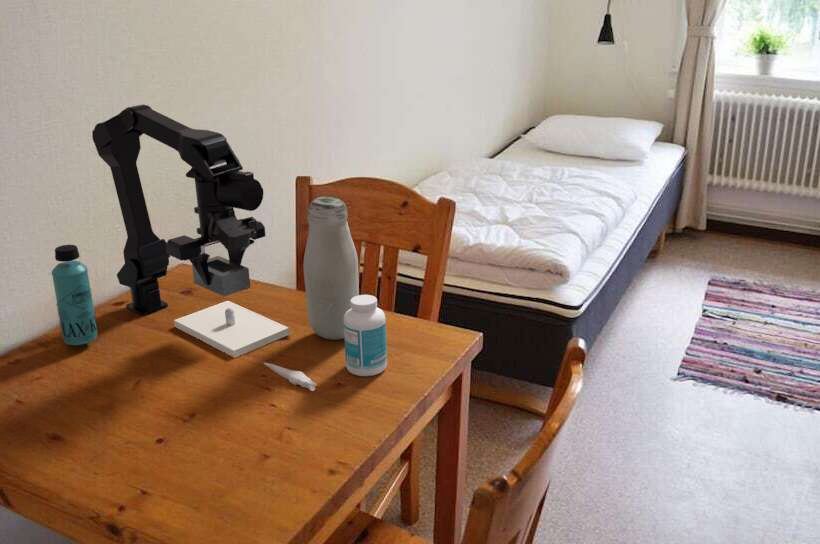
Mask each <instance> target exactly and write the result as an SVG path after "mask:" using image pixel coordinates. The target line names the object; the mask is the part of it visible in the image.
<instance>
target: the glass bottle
mask: <svg viewBox="0 0 820 544" xmlns="http://www.w3.org/2000/svg"><path fill="white" fill-rule="evenodd" d="M306 218H307V222H308V233H307V234H308V235H307V239H306V245H305V249H304V256H303V278H304V287H305V288H304V289H305V297H306V313H307V318H308V323H309V326H310V328H311V330H312V331H313V332H314V333H315V334H316V335H317V336H319V337H322V338H323V339H325V340H332V341H333V340H337V341H338V340H342V339H344V315H345V313H346V312H347V311H348V310H349V309H351V304H350V300H351V299H352V298H353V297H355V296H358V295H360V288H359V286H360V283H359V258H358V253H357V249H356V247H355V243H354V240H353V238H352V235H351V231H350V228H349V223H348V209H347V205H346V203H345V202H344V201H343V200H341V199H339V198H337V197H334V196H319V197H317V198H314V199H313V200H312V201H311V202H310V204H309V206H308V210H307V217H306Z"/></svg>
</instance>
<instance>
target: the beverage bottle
mask: <svg viewBox="0 0 820 544" xmlns="http://www.w3.org/2000/svg"><path fill="white" fill-rule="evenodd" d="M54 254H55V255H54V258H55V261H57V262H60V263H57V265H55V267H54V268H53V269H52V270H51V276H52V281H53V288H54V293H55V298H56V299H55V300H56V307H57V308H56V310H57V314H58V315H57V317H58V319H59V322H58V323H59V328H60V331H61V337H62V340H63V342H64V343H65V344H66V345H70V346H71V345H72V346H79V345H85V344H88V343H90V342H92V341H94V340H96V339H97V338H98V333H99V330H98V322H97V316H96V312H95V309H96V308H95V306H94V301H93V295H92V288H91V285H90V277H89V272H88V266H87V265H86V264H85V263H83V262H81V261H78V260H77V259H79V258H80V252H79V249H78V247H77V245H75V244H63V245H60V246H59V245H58V246H57V247H55V249H54Z"/></svg>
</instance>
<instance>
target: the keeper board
mask: <svg viewBox="0 0 820 544" xmlns="http://www.w3.org/2000/svg"><path fill="white" fill-rule="evenodd" d="M173 321H174V327H175V328H176V329H179V330H180V331H182V332H184V333H186V334H188V335H190V336H192V337H194V338H195V337H196V339H198V340H199V339H200V341H201V340H202V341H201V342H204V343H205V344H207V345H209V346H210V347H213V348H215V349H217V350H219V351H221V352H223V353H224V352H225V354H226V355H228V356H230V357H233V358H234V359H235V358H238V357H241V356H244V355H245V354H247V353H249V352H252V351H255V350H257V349H259V348H261V347H264V346H266V345H269V344H271V343H273V342H276V341H277V340H280V339H282V338H285V337H287V336H289V335H290V328H289V326H286V325H284V324H281V323H279V322H276V321H275V320H272V319H270V318H267V317H266V316H263V315H262V314H259V313H257V312H255V311H252V310H250V309H248V308H246V307H243V306H241V305H239V304H236V303H234V302H233V301H230V300H226V301H223V302H220V303H218V304H214V305H211V306H210V307H207V308H203V309H201V310H198V311H195V312H192V313H190V314H187V315H184V316H182V317H179V318H176V319H174V320H173ZM240 355H241V356H240Z"/></svg>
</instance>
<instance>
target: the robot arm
mask: <svg viewBox="0 0 820 544" xmlns="http://www.w3.org/2000/svg"><path fill="white" fill-rule="evenodd" d="M91 134H92V141H93V143H94V146H95V149H96V151H97V154H98V156H99V157H100V158H101V160H103V161H104V162H105V163H106V165H108V167H110V168H109V169H110V171H111V175H112V179H113V184H114V187H115V191H116V195H117V199H118V203H119V207H120V211H121V216H122V218H123V223H124V226H125V232H126V236H127V238H126V242H125V245H124V248H123V251H122V253H123V259H124V260H123V261H124V264H123V266H122V267H120V269H119V271H118V272H117V274H116V277H117V280H118V283H119V284H120V285H122V286H125V287H128V288H129V289H130V295H131V302H130V303H126V304H125V307H126V308H127V309H129V310H131V311H133V312H134V313H136V314H139V315H141V316H142V315H146V314H149V313H153V312H155V311H158V310H160V309H161V310H162V309H163V308H166V307H168V306H169V304H168V302H166V301H164V300H162V299H161V291H160V286H159V280H158V279H160V278H162V277H166V276H167V272H168V266H169V265H170V259H169V258H171V257H173V258H175V259H176V260H179V261H182V262H183V261H188V260H189V262H190V263H191V265H192V264H193V265H194V267H195V268H196V270H197V272H198V274H199V275H200V277H201V279H202V280H203V282H204V284H205V285H207V286H208V285H210V278H209V270H208V263H207V261H208V259H210V258H211V257H210V256H211V255H210V254H209V253H206V250H205V247H208V246H211V245H215V244H219V243H220V244H221V245H222V246H224V248H225V250H227V255H228V260H230V261H232V262H235V263H237V264H240V265H242V261H243V257H244V254H245V252H246V250H247V248H249V247H250V246H251V245H253V244H255V240H259V239H262V238H265V237H266V227H265V224H263V222H262V221H258V220H257V219H256V218H254V216H249V217H245V218H240V219H238V218H237V216H236V211H235V209H239V210H243V211H249V212H253V211H255V210H257V209H259V207H260V206H261V204H262V202H263V199H264V188H263V187H262V183H261V182H260V181H259V180H257V179H255V177H254V172H252V171H243V168H244V167H243V166H242V164H241V162H240V159H239V158H238V157H237V155H236V154H235V152H234V151H233V149H232V147H231V145H230V144H229V142H228V141H227V140H228V139H227V138H226V136H225V135H223V134H222V133H220V132H216V131H212V130H209V129H197V128H196V129H195V128H192V127H189V126H187V125H184V124H183V123H181V122H178V121H176V120H175V119H173V118H170V117H169V116H166V115H164V114H162V113H160V112H158V111H156V110H154V109H153V108H152V107H151V106H150V105H147V104H139V105H133V106H128V107H126V108H125V109H122V111H121V112H119V113H118V114H117V115H115V116H112V117H111V118H108V119H107V120H105V121H102V122H99V123H97V124H96V125H95V126H94V128H93V130H92V133H91ZM143 135H146V136H147V137H150V138H152V139H153V140H156V141H158V142H160V143H162V144H163V145H166V146H168V147H170V148H171V149H174V150H175V151H177V153H178V154H179V156H180V159H181V160H182V161H183V162H185V163H186V164H187V165H188V166H190V167H191V168H190V170H187V172H186V173H185V177H187V178H190V179H194V186H195V187H194V188H195V196H196V202H197V206H195V207H194V208H193V209H194V210H193V211H194V213H195V214H197V215H198V221H199V227H197V228H196V234H198V235H199V237H195V238H192V237H190V236H187V235H181V236H176V237H173V238H169V239H168V240H167V241H166V239H164V238H161V239H160V238H159V237H158V236H157V235H156V233H154V231H153V227H152V224H151V220H150V219H151V218H150V214H149V210H148V207H147V203H146V199H145V195H144V189H143V187H142V186H143V184H142V182H141V177H140V174H139V170H138V169H139V168H138V165H137V164H138V163H137V161H138V159H139V155H140V151H141V148H142V147H141V139H140V137H141V136H143Z"/></svg>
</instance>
